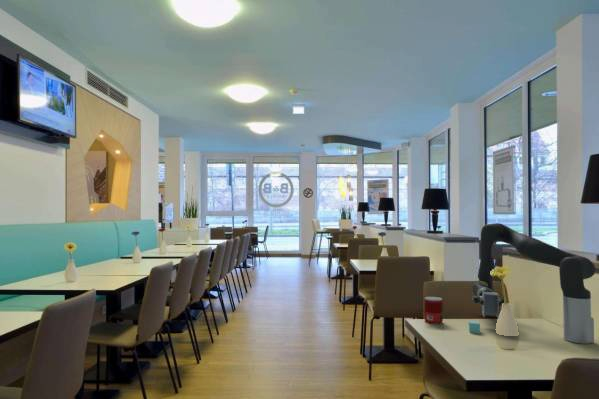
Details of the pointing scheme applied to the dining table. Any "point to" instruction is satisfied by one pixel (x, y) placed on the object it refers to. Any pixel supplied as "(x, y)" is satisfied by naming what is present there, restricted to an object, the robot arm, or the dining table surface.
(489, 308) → the tall grey pillar block
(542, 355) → the dining table surface
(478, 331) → the teal block
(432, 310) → the canned food
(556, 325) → the dining table surface
